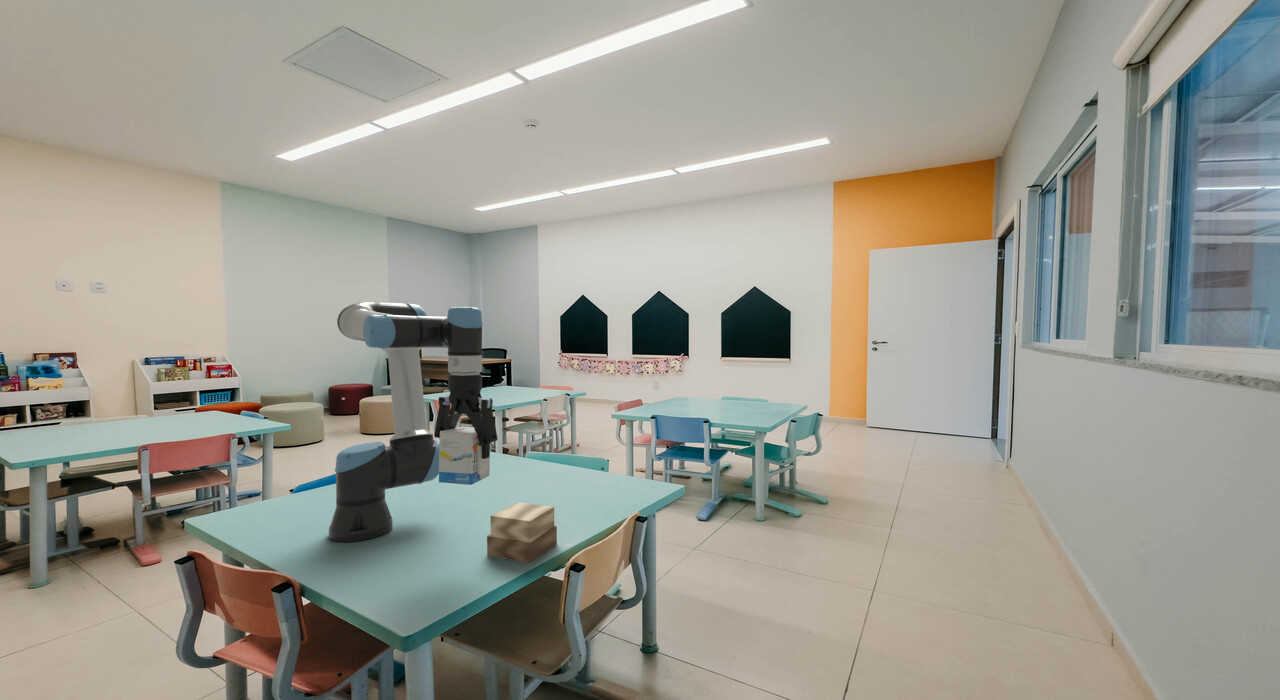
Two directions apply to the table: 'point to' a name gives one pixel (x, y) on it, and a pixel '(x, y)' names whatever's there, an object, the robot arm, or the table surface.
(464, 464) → the ink box
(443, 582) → the table surface
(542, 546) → the tower base
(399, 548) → the table surface
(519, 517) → the tower top
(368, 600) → the table surface
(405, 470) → the robot arm
